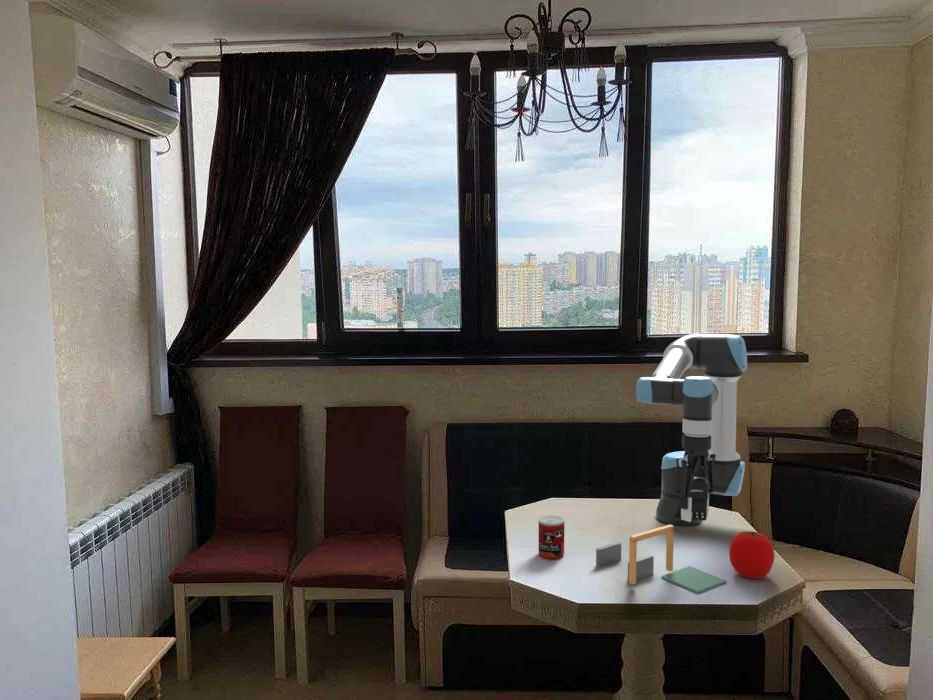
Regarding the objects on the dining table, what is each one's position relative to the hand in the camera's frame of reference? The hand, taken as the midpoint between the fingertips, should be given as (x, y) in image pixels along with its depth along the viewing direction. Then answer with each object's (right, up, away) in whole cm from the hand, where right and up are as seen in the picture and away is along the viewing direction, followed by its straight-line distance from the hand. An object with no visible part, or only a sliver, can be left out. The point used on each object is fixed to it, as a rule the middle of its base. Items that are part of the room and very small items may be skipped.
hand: (694, 517), depth 187 cm
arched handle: (-12, -16, +1) cm, 20 cm away
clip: (-17, -17, +9) cm, 26 cm away
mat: (0, -18, +2) cm, 18 cm away
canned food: (-37, -16, +20) cm, 45 cm away
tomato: (+17, -17, +5) cm, 25 cm away
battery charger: (0, -1, 0) cm, 1 cm away
